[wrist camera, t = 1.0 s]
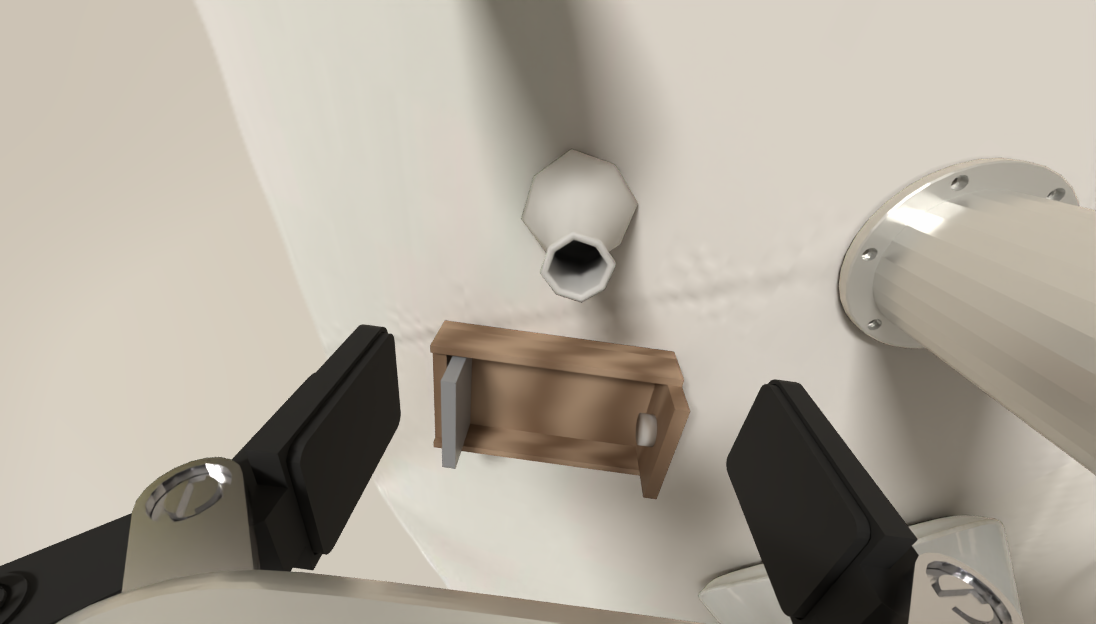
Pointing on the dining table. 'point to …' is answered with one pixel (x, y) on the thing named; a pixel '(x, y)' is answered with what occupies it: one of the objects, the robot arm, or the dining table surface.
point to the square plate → (972, 540)
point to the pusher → (455, 408)
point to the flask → (578, 222)
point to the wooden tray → (567, 400)
